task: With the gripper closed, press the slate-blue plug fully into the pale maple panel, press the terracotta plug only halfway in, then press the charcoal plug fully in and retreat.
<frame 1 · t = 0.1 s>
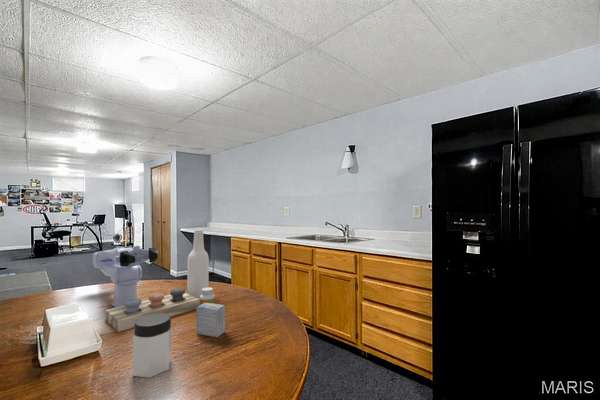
hand: (145, 257, 101), 22 cm above the table, tool horizontal, fingers open, 7 cm apart
alcohol: (197, 298, 122), on the table
supplement bottle: (207, 315, 103), on the table
slate-blue plug: (132, 307, 97), point 5 cm above the table, slide at 0.0 cm
terracotta plug: (156, 301, 103), point 5 cm above the table, slide at 0.0 cm
medicine box: (210, 333, 88), on the table
jar: (152, 368, 69), on the table
panel: (155, 313, 104), on the table
charcoal plug: (177, 296, 110), point 5 cm above the table, slide at 0.0 cm
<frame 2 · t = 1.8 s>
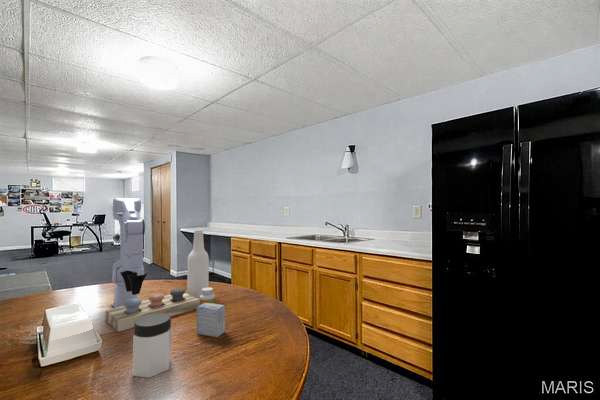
hand: (133, 292, 98), 10 cm above the table, tool pointing down, fingers open, 5 cm apart
nothing on the table moved.
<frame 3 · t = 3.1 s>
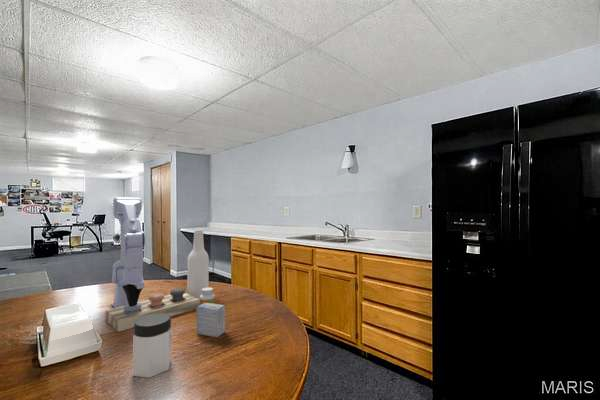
hand: (132, 305, 97), 5 cm above the table, tool pointing down, fingers closed, pressing on slate-blue plug
slate-blue plug: (132, 312, 97), point 3 cm above the table, slide at 1.5 cm, touching gripper
everything else where it was.
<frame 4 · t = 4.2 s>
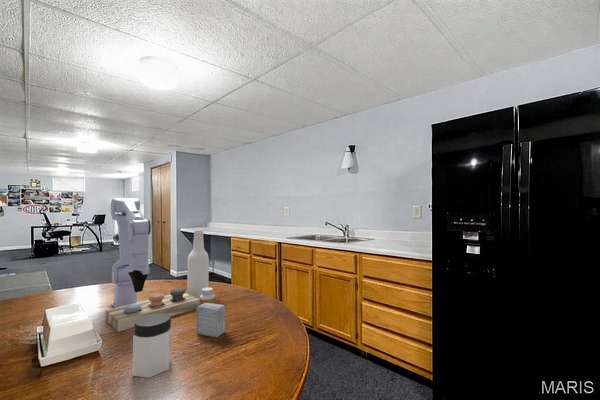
hand: (138, 291, 99), 10 cm above the table, tool pointing down, fingers closed
slate-blue plug: (132, 313, 97), point 3 cm above the table, slide at 2.0 cm
everything else where it was.
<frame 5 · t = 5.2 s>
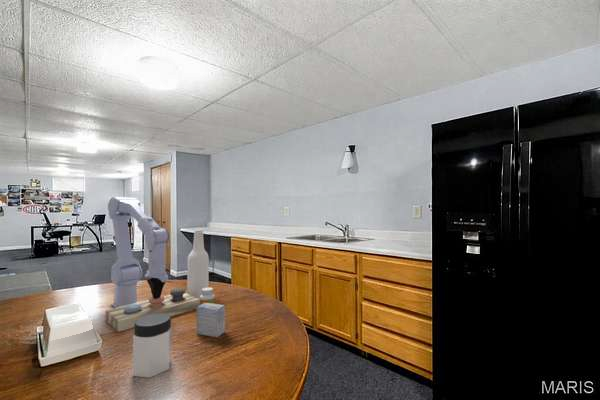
hand: (156, 298, 104), 6 cm above the table, tool pointing down, fingers closed, pressing on terracotta plug
terracotta plug: (156, 304, 103), point 4 cm above the table, slide at 0.9 cm, touching gripper
everything else where it was.
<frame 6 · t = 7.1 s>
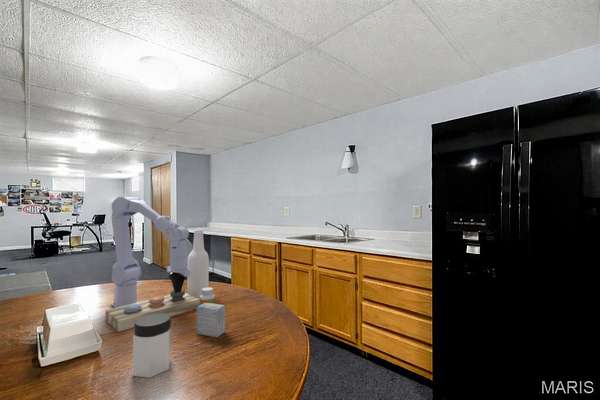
hand: (177, 291, 110), 6 cm above the table, tool pointing down, fingers closed, pressing on charcoal plug
terracotta plug: (156, 304, 103), point 4 cm above the table, slide at 1.0 cm
charcoal plug: (177, 297, 110), point 4 cm above the table, slide at 0.5 cm, touching gripper
everything else where it was.
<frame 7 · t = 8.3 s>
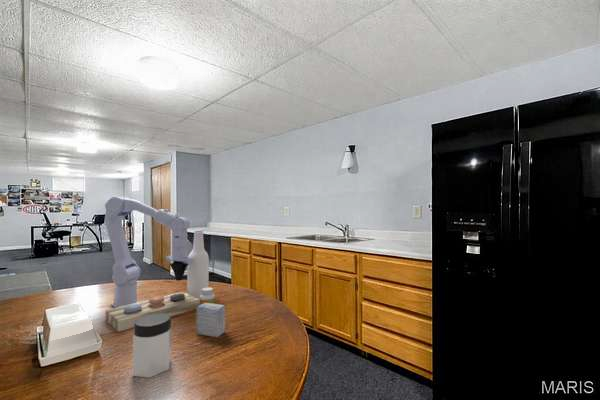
hand: (179, 280, 113), 10 cm above the table, tool pointing down, fingers closed
charcoal plug: (177, 301, 109), point 3 cm above the table, slide at 2.0 cm
everything else where it was.
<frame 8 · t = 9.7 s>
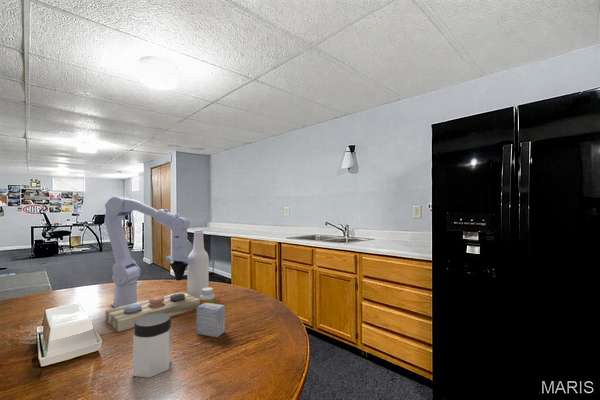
hand: (179, 280, 113), 10 cm above the table, tool pointing down, fingers closed
nothing on the table moved.
at the end: slate-blue plug slide at 2.0 cm; terracotta plug slide at 1.0 cm; charcoal plug slide at 2.0 cm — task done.
